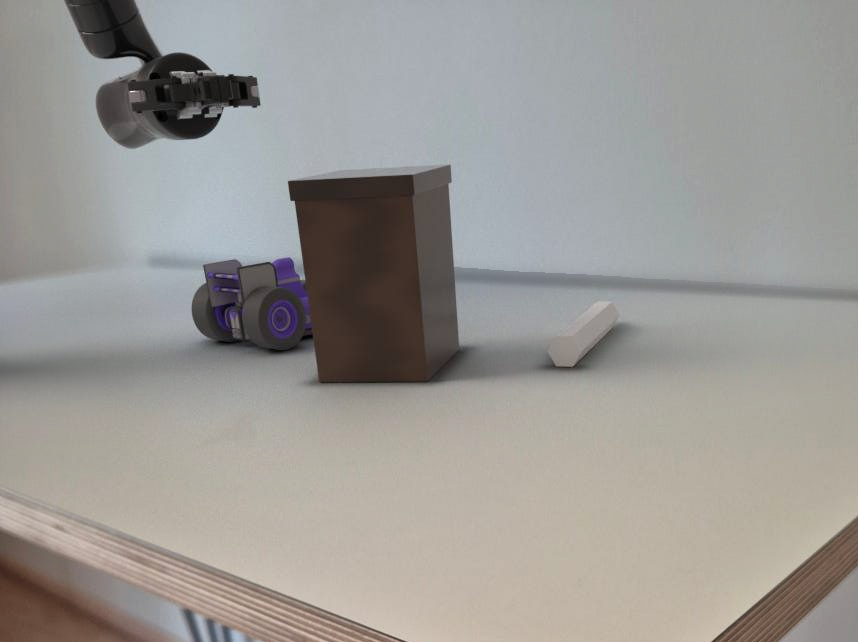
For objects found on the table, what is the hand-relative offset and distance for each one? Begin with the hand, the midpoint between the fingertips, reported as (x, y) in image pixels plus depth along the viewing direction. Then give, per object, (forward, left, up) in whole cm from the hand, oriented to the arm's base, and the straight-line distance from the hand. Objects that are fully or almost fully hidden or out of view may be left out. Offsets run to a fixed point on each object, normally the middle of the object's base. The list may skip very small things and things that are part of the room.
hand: (219, 89), depth 85 cm
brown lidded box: (+20, -21, -19) cm, 35 cm away
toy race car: (+8, -9, -19) cm, 23 cm away
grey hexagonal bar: (+34, -14, -19) cm, 42 cm away
